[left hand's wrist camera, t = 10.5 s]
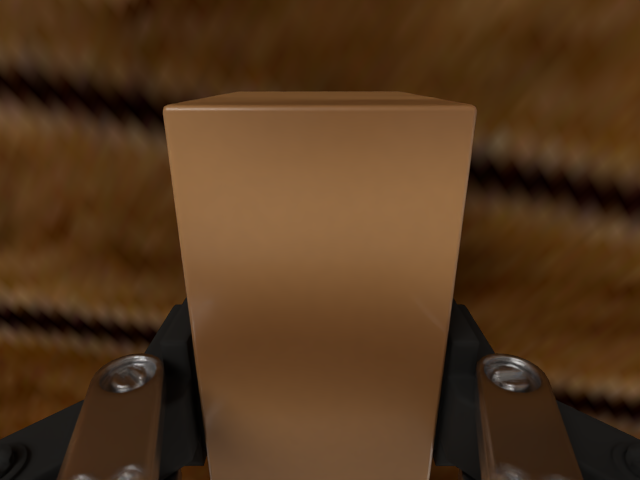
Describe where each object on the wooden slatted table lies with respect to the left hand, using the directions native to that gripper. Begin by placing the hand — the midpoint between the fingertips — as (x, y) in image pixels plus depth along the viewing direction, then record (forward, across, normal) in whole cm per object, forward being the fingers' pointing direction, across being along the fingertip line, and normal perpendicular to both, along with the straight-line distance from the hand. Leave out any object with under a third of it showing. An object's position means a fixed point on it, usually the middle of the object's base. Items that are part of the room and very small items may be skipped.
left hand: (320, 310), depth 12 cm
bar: (+2, 0, -19) cm, 19 cm away
